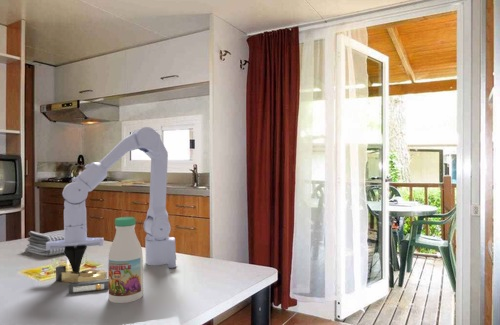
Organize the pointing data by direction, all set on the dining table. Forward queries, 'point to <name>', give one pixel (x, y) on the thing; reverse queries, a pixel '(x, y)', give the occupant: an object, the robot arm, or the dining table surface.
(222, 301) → the dining table surface
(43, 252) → the towel
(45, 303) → the dining table surface
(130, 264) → the milk bottle
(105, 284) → the stand base
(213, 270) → the dining table surface
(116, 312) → the dining table surface
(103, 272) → the tan piece
